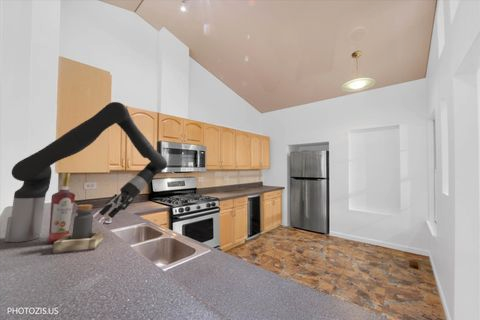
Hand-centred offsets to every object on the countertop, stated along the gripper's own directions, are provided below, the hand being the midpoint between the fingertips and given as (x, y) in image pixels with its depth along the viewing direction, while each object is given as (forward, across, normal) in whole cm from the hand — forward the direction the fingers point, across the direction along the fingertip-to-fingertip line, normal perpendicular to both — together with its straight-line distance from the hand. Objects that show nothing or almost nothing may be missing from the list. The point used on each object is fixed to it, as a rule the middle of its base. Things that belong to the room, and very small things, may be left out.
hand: (105, 215), depth 82 cm
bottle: (+12, -1, +2) cm, 13 cm away
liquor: (+15, -13, 0) cm, 20 cm away
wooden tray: (+13, 0, +2) cm, 13 cm away
